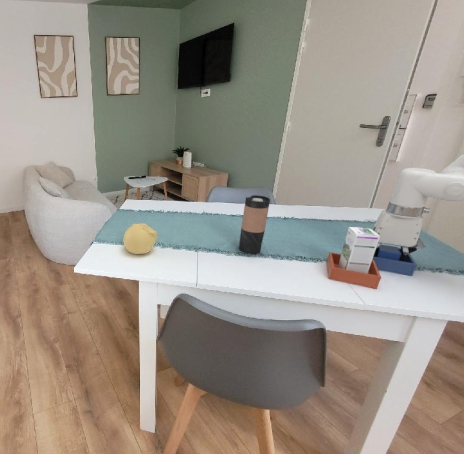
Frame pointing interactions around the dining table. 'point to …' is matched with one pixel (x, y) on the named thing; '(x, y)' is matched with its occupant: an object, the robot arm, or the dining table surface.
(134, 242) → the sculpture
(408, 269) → the blue bin
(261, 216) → the travel mug
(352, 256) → the syrup box
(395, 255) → the blue block
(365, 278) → the terracotta bin
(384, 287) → the dining table surface
